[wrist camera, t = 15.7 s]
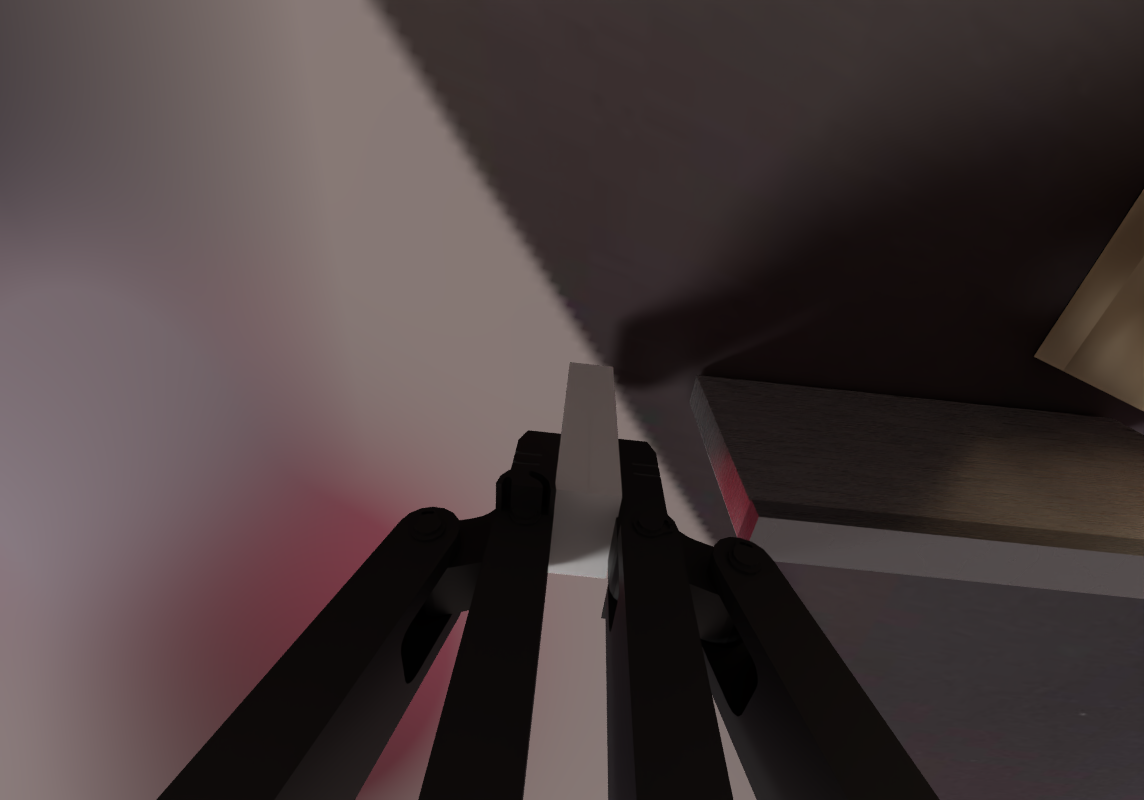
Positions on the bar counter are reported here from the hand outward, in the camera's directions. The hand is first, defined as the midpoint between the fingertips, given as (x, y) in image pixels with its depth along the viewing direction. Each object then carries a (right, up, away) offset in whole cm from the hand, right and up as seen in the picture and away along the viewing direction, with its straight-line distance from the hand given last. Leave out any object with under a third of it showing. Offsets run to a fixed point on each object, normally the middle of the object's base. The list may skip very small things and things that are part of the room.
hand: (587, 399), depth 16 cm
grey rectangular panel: (+12, 0, +2) cm, 12 cm away
